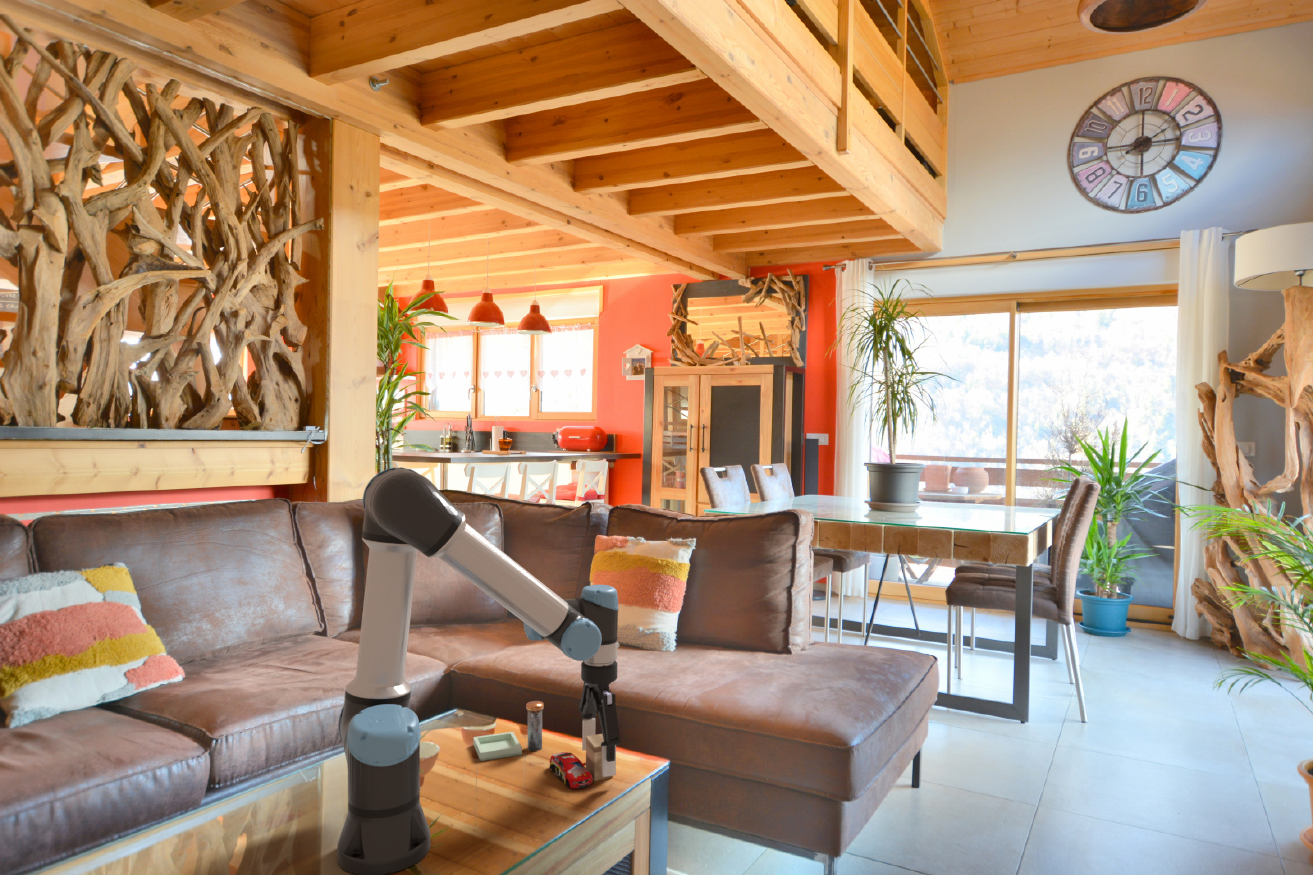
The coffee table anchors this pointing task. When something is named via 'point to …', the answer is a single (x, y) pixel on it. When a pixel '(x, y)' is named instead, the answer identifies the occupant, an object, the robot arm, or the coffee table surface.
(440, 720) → the coffee table surface
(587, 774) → the race car
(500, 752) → the tray
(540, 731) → the pin
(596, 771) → the brown lidded box
